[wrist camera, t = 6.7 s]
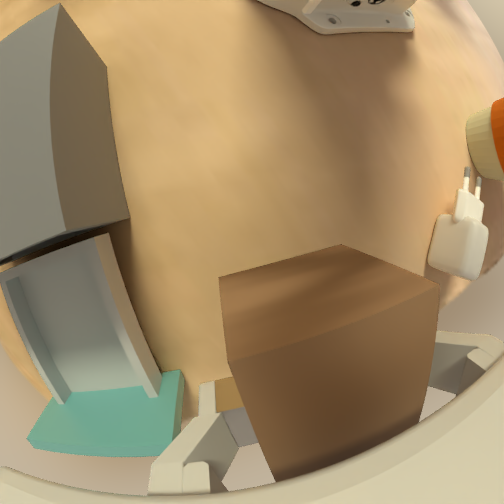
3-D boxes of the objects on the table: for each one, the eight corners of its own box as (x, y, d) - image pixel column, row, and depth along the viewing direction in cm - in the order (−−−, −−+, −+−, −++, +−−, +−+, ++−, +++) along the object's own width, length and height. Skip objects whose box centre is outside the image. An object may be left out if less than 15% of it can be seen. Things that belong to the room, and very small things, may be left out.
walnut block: (341, 244, 10) (439, 284, 5) (353, 386, 11) (406, 457, 6) (218, 277, 9) (227, 361, 4) (262, 417, 11) (287, 506, 6)
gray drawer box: (106, 66, 16) (60, 2, 7) (130, 217, 19) (66, 230, 9) (-5, 129, 15) (-69, 111, 5) (11, 261, 18) (-60, 290, 8)
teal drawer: (130, 225, 19) (77, 241, 10) (184, 379, 22) (179, 454, 13) (10, 268, 17) (-51, 295, 9) (66, 393, 20) (34, 448, 12)
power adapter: (440, 164, 23) (479, 160, 17) (463, 181, 24) (500, 181, 18) (419, 263, 24) (459, 276, 18) (444, 272, 25) (481, 285, 19)
